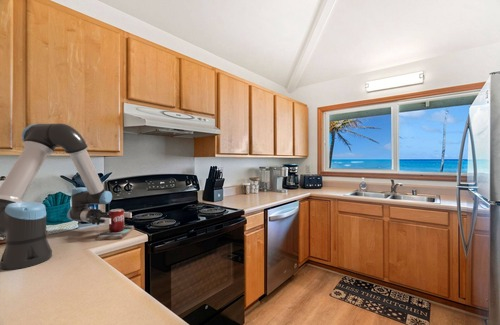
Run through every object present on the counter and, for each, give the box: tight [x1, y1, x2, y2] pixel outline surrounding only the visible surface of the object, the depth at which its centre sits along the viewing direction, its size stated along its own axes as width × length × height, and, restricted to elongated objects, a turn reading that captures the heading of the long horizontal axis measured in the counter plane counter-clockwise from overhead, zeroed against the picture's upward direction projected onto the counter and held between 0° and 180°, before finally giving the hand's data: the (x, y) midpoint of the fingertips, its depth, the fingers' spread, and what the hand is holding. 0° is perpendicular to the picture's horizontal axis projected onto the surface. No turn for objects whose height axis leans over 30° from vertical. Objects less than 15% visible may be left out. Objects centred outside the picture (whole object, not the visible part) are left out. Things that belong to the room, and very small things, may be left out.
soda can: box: [108, 208, 125, 233], centre depth 126 cm, size 7×7×12 cm
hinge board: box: [96, 225, 135, 241], centre depth 126 cm, size 12×18×3 cm, turn 8°
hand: (121, 218), depth 125 cm, fingers open, 13 cm apart
